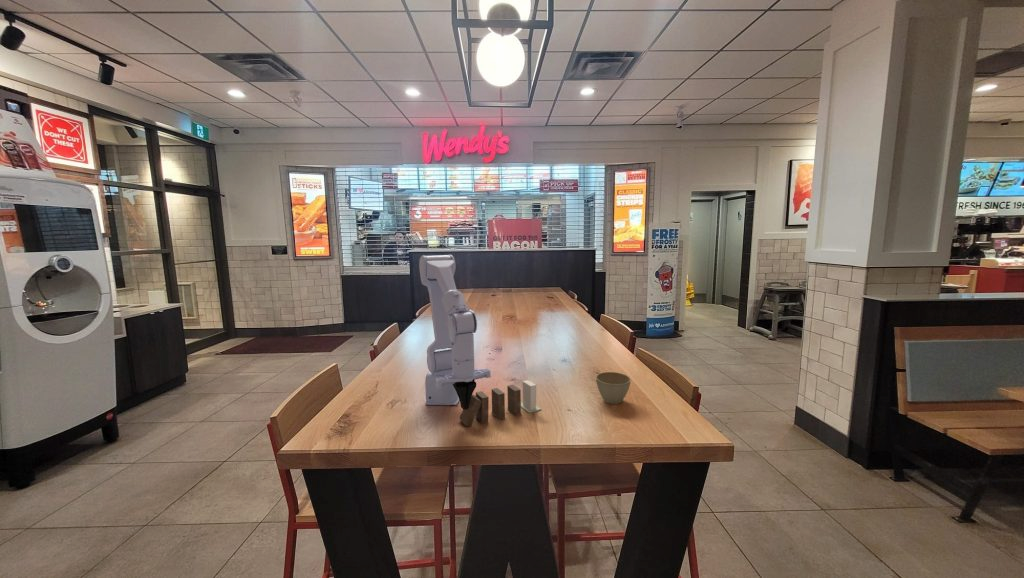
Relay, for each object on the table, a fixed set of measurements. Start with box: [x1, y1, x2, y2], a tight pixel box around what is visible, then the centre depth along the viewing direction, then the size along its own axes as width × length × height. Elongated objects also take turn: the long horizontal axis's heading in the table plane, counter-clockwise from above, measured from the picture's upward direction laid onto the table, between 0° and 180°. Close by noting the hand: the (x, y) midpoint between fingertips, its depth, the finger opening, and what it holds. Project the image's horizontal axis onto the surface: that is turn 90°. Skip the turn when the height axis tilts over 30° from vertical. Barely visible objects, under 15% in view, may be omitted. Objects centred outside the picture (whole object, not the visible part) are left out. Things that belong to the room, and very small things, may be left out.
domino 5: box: [522, 379, 537, 410], centre depth 111 cm, size 2×4×7 cm, turn 29°
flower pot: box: [595, 371, 632, 405], centre depth 115 cm, size 10×10×7 cm
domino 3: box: [491, 387, 506, 420], centre depth 107 cm, size 2×4×7 cm, turn 28°
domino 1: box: [459, 394, 482, 427], centre depth 103 cm, size 2×4×7 cm, turn 29°
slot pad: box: [521, 402, 542, 414], centre depth 112 cm, size 4×6×1 cm, turn 28°
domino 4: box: [506, 384, 522, 416], centre depth 109 cm, size 2×4×7 cm, turn 29°
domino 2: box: [475, 391, 490, 424], centre depth 104 cm, size 2×4×7 cm, turn 28°
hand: (464, 407), depth 102 cm, fingers closed
